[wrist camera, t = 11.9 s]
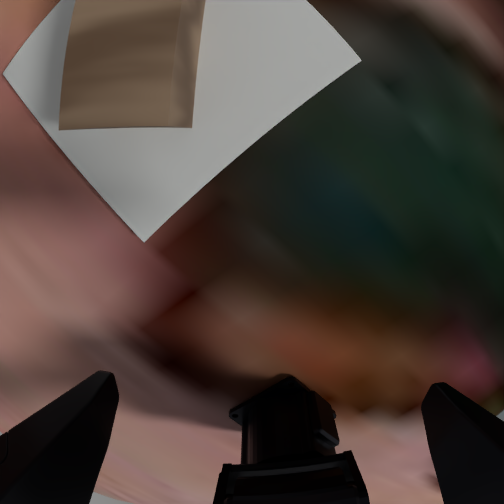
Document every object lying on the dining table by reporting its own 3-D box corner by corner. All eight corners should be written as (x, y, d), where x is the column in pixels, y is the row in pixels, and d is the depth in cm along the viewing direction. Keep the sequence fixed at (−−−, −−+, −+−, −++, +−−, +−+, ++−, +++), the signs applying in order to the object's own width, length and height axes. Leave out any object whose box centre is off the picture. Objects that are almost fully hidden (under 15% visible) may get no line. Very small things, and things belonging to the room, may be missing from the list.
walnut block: (167, 126, 11) (198, -79, 8) (58, 130, 11) (93, -62, 8) (192, 128, 16) (210, -33, 12) (106, 128, 16) (127, -26, 12)
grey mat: (147, 238, 19) (144, 242, 18) (9, 74, 15) (2, 73, 14) (357, 63, 15) (361, 60, 14) (182, -88, 11) (179, -94, 10)
